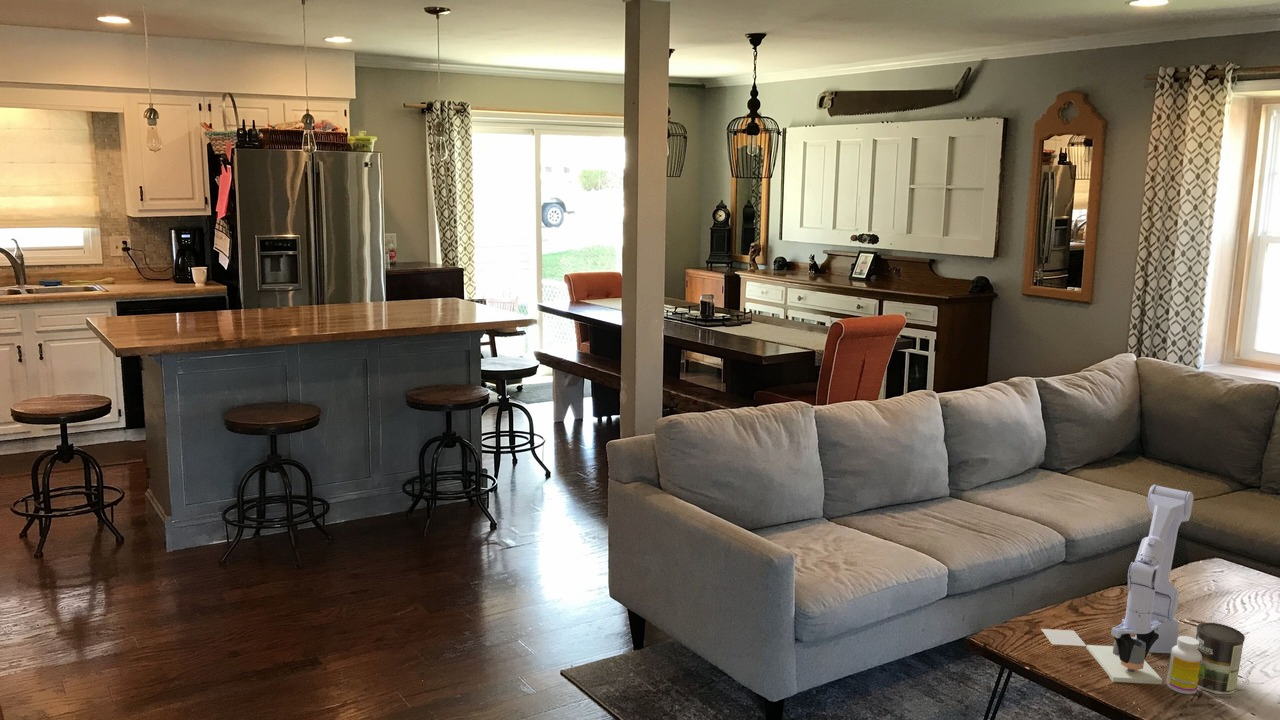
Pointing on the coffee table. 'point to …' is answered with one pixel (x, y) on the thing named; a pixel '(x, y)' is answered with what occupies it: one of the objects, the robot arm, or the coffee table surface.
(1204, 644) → the coffee can
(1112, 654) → the pin board
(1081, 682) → the coffee table surface
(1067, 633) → the pad
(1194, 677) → the supplement bottle
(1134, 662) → the sleeve
